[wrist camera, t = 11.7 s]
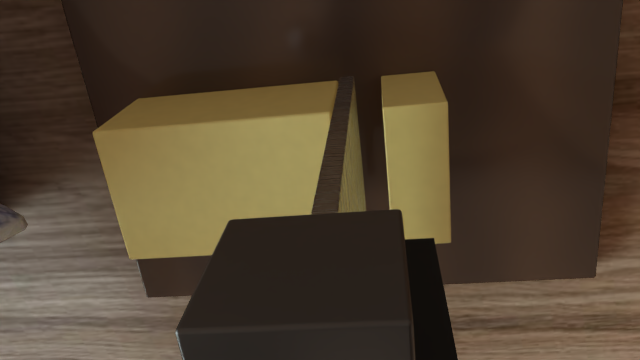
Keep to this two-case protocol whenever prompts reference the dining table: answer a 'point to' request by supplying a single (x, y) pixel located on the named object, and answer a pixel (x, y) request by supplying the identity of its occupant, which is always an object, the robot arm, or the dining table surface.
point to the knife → (309, 273)
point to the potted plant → (10, 223)
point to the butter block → (212, 163)
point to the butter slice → (418, 153)
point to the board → (367, 68)
